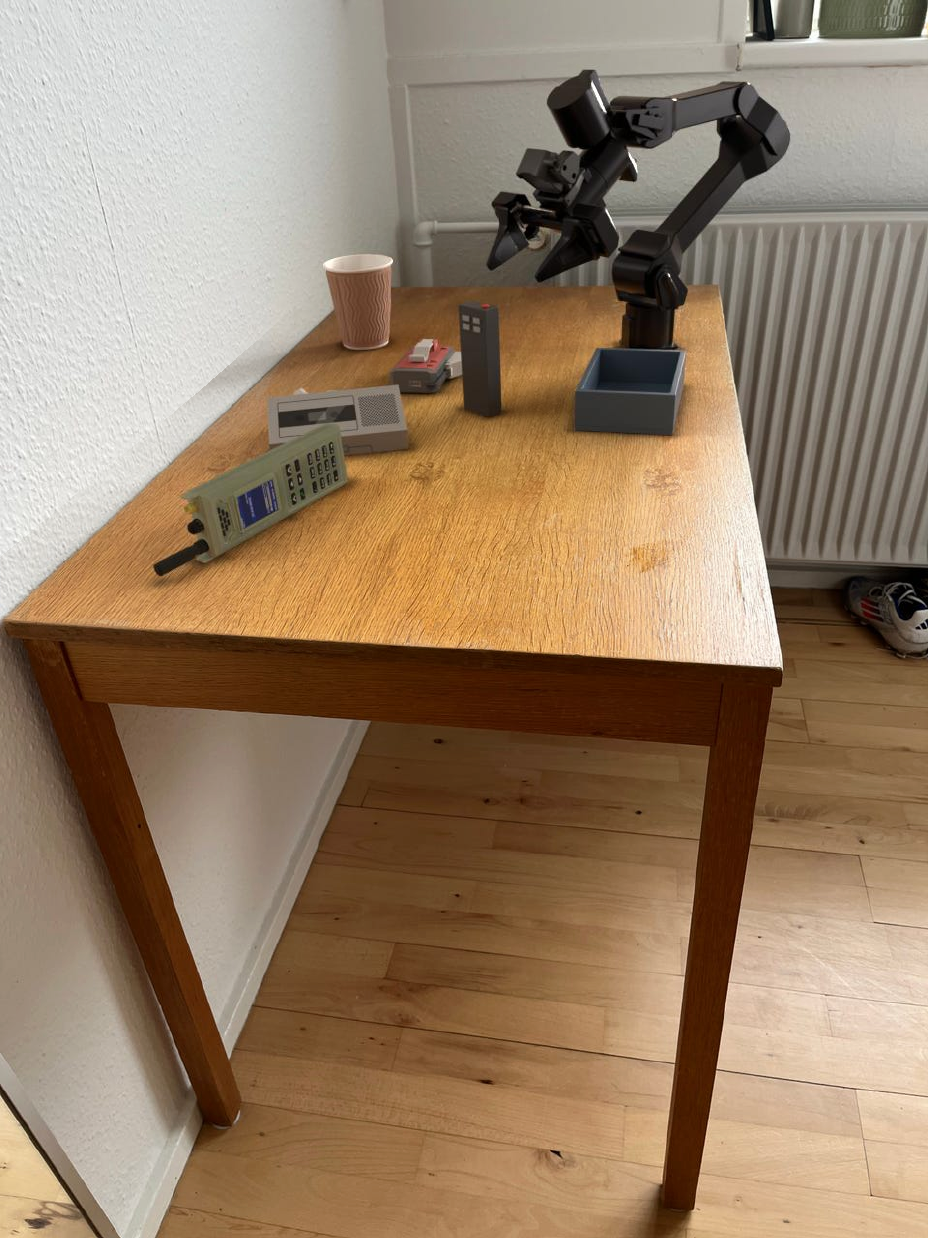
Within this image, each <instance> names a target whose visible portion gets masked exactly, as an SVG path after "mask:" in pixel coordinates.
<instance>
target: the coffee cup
mask: <svg viewBox="0 0 928 1238" xmlns="http://www.w3.org/2000/svg"><path fill="white" fill-rule="evenodd" d="M393 261H394V260H393V258H392V257H390V256H388V255H383V254H374V253H363V254H362V253H361V254H359V253H358V254H349V255H343V256H338V257H335V258H331V259H328V260H326V261H324V263H323V264H322V269H324V270H325V277H326V280H327V284H328V289H329V293H330V297H331V301H332V306H333V310H334V314H335V318H336V321H337V323H336V324H337V327H338V331H339V334H340V338H341V341H342V344H343V346H344V347H345V348H346V349H349V350H353V351H369V350H375V349H379V348H382V347H385V346H386V345H388V343H389V337H390V334H391V333H390V332H391V331H390V329H391V328H390V327H391V310H392V301H391V300H392V294H391V293H392V292H391V291H392V290H391V286H392V283H391V282H392V267H391V265H392V264H393Z"/></svg>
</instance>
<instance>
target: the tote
mask: <svg viewBox="0 0 928 1238" xmlns="http://www.w3.org/2000/svg"><path fill="white" fill-rule="evenodd" d="M686 358H687V350H679V349H673V350H652V349H627V348H619V347H618V348H616V347H615V348H614V347H595V350H594V351H593V354H592V356H591V357H590V360H589V362H588V364H587V366H586V368H585V370H584V371H583V374H582V375H581V377H580V380H579V382H578V384H577V386H576V388H575V390H574V420H573V421H574V423H573V424H574V425H573V426H574V429H573V430H574V431H579V432H580V431H581V432H582V431H583V432H602V433H619V434H620V433H621V434H637V435H640V434H641V435H657V436H658V435H659V436H673V435H674V431H675V426H676V421H677V417H678V413H679V408H680V404H681V401H682V395H683V391H684V385H685V384H684V383H685V371H686Z"/></svg>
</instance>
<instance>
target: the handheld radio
mask: <svg viewBox="0 0 928 1238" xmlns="http://www.w3.org/2000/svg"><path fill="white" fill-rule="evenodd" d="M345 459H346V458H345V456H344V452H343V445H342V439H341V433H340V427H339V425H336V424H329V423H328V424H324V425H321V426H319V427H317V428H315V429H313V430H311V431H309V432H307V433H305V434H303V435H301V436H299V437H297V438H295V439H293V440H291V441H289V442H286V443H284V444H282V445H280V446H278V447H276V448H274V449H272V450H270V449H269V450H268V451H266V452H264V453H262V454H260V455H257V456H255V457H254V458H252V459H249V460H248V461H245V462H243V463H241V464H239V465H237V466H235V467H233V468H231V469H229V470H227V471H224V472H223V473H221V474H219V475H216V476H214V477H213V478H211V479H209V480H207V481H205V482H203V483H200V484H199V485H196V486H195V487H194V486H193V487H192V488H190V489H188V490H187V491H186V492H185V493H183V494H182V495H179V498H180V499H183V500H187V501H188V503H187V504H185V505H184V506H183V510H184V513H186V514H187V515H191V516H192V520H191V521H190V522H188V523H187V525H186V529H187V531H188V533H189V534H190V535H196V537H197V540H196V541H194V542H193V544H192V545H189V546H187V547H185V548H183V549H180V550H179V551H177V552H175V553H173V554H171V555H169V556H166V557H165V558H163V559H161V560H159V561H157V562H155V563H154V564H153V567H152V568H153V571H154V572H155V573H156V575H157V576H159V577H164V576H165V575H167V574H168V573H171V572H172V571H174V570H176V569H178V568H179V567H181V566H183V565H185V564H187V563H188V562H191V561H192V560H194V559H195V558H196V559H195V560H196V561H198V562H201V563H203V564H205V563H208V562H210V561H212V560H214V559H216V558H218V557H219V556H221V555H223V554H224V553H226V552H228V551H230V550H232V549H234V548H235V547H238V546H239V545H240V544H242V543H244V542H246V541H247V540H249V539H252V538H253V537H255V536H257V535H258V534H260V533H262V532H264V531H265V530H267V529H270V527H272V526H274V525H276V524H278V523H280V522H281V521H283V520H285V519H287V518H289V517H290V516H292V515H295V514H296V513H297V512H299V511H301V510H302V509H304V508H306V507H308V506H310V505H311V504H313V503H315V502H317V501H319V500H321V499H322V498H324V497H326V496H328V495H329V494H331V493H333V492H334V491H336V490H338V489H340V488H342V487H343V486H345V485H347V484H348V483H349V479H348V472H347V465H346V460H345Z"/></svg>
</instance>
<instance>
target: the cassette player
mask: <svg viewBox="0 0 928 1238" xmlns="http://www.w3.org/2000/svg"><path fill="white" fill-rule="evenodd" d="M327 391H328V390H327ZM327 391H320V392H310V393H308V392H307V393H308V394H298V395H294V394H291V395H289V394H288V395H278V396H269V397H266V402H267V403H266V406H267V407H266V408H267V409H266V410H267V429H268V446H269V451H270V450H272V449H274V448H276V447H278V446H280V445H282V444H284V443H286V442H289V441H291V440H293V439H295V438H297V437H299V436H301V435H303V434H305V433H307V432H309V431H311V430H313V429H315V428H317V427H319V426H321V425H324V424H328V423H329V424H336V425H339V427H340V433H341V439H342V445H343V452H344V457H346V456H353V455H354V456H355V455H364V454H371V453H372V454H373V453H382V452H383V453H384V452H391V451H392V452H393V451H402V450H409V448H410V447H409V431H408V425H407V420H406V415H405V410H404V405H403V401H402V395H401V393H400V390H399V385H391V384H390V385H389V384H388V385H380V386H371V387H370V386H369V387H359V388H349V389H339V390H336V391H328V392H327Z"/></svg>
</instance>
